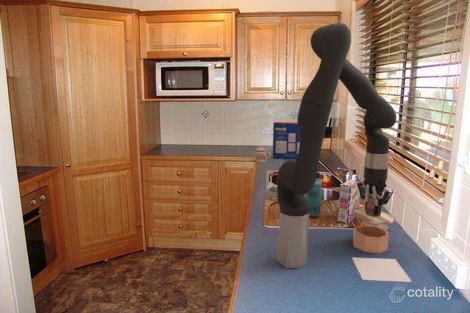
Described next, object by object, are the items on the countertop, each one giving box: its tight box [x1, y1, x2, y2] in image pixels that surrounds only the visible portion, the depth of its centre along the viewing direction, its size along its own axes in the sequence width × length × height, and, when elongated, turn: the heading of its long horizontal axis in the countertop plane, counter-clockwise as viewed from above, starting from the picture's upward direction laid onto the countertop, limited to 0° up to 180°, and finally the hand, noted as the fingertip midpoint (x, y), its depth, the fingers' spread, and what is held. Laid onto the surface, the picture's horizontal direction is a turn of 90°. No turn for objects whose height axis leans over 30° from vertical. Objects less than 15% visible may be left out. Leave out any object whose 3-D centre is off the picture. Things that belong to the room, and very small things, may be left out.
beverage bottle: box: [305, 171, 323, 217], centre depth 156 cm, size 6×7×20 cm
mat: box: [351, 257, 413, 283], centre depth 112 cm, size 14×14×1 cm
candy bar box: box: [336, 179, 361, 225], centre depth 154 cm, size 11×5×16 cm, turn 141°
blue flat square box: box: [272, 121, 300, 161], centre depth 281 cm, size 28×8×28 cm, turn 81°
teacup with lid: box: [254, 145, 272, 163], centre depth 272 cm, size 12×9×12 cm
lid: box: [353, 197, 395, 225], centre depth 126 cm, size 14×14×7 cm
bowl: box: [352, 224, 390, 254], centre depth 128 cm, size 11×11×6 cm
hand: (372, 213), depth 126 cm, fingers closed on lid, 3 cm apart
